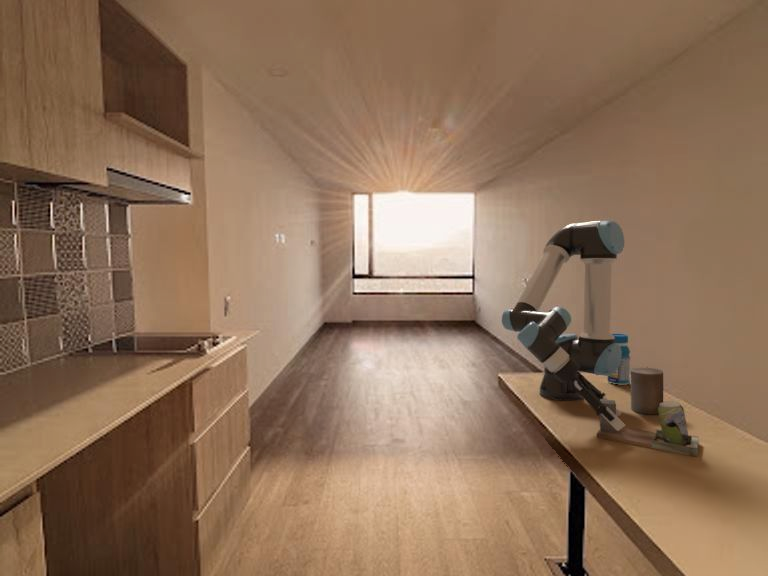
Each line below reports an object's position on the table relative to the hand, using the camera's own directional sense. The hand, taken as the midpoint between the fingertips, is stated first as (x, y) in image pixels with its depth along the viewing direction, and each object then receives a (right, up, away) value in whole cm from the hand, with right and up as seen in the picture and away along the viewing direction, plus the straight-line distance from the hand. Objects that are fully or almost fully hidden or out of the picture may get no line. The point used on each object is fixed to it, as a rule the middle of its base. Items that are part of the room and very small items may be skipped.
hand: (619, 421), depth 134 cm
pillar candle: (+20, -2, +21) cm, 29 cm away
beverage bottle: (+28, 0, +55) cm, 61 cm away
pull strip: (+5, -4, -4) cm, 8 cm away
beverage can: (+10, -4, -8) cm, 14 cm away
